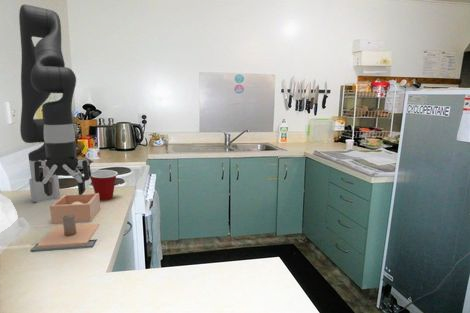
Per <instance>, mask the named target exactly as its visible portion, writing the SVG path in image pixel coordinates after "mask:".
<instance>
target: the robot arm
mask: <svg viewBox="0 0 470 313" xmlns="http://www.w3.org/2000/svg"><path fill="white" fill-rule="evenodd" d="M18 12H19V14H18V15H19V16H18V17H19V18H18V19H19V21H18V22H19V33H20V47H21V49H20V50H21V66H20V67H21V69H20V70H21V71H20V90H21V114H20V124H19V126H20V130H19V132H20V137H21V140H22V141H23V142H24V143H26V144H34V143H37V144H38V143H42V145H41V146H40V147H38V148H36V149H34V150H32V151H30V152H29V153H28V163H29V164H28V165H29V171H30V178H29V180H28V182H29V190H30V191H29V192H30V197H31V202H32V203H37V204H38V203H40V202H47V201H51V200H58V199H59V198H61V192H60V183H59V176H69V175H70V176H71V177H72V178H74V179H75V181H77V190H78V194H79V195H82V194H85V192H86V181H89V180H91V172H92V171H91V165H90V164H91V163H90V159H89V158H85V159H78V157H77V145H76V144H77V143H76V133H75V132H76V131H75V128H74V125H73V115H72V114H73V110H72V107H73V97H74V93H75V90H76V89H75V88H76V85H77V76H76V74H75V73H74V71H73V69H71V68H69V67H67V66H65V65H66V64H65V60H64V56H63V51H62V26H61V24H62V23H61V18H60V16H59V14H58V13H57V12H56V11H54V10H52V9H48V8H44V7H39V6H35V5H30V4H22V5H21V6H20V7H19V11H18ZM33 37H34V38H40V40H38V42H37V43H36V44H34V42H33V39H32V38H33ZM51 94H62V95H61V97H60V99H58V100H54V101H48V102H46V101H47V100H48V99H49V97H50V95H51ZM41 107H42V108H41ZM40 108H41V110H42V111H41V113H42V118H35V115H36V113H37V111H38V110H39V109H40ZM79 165H80V168H82V170H83V174H82V173H81V171H80V170H79V168H77V167H78V166H79Z"/></svg>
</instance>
